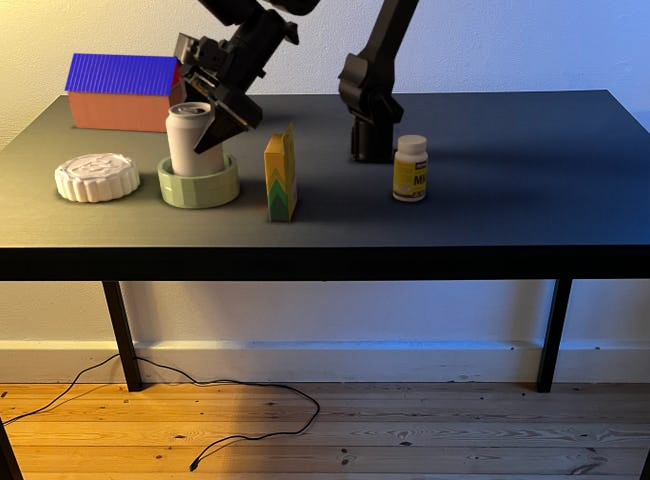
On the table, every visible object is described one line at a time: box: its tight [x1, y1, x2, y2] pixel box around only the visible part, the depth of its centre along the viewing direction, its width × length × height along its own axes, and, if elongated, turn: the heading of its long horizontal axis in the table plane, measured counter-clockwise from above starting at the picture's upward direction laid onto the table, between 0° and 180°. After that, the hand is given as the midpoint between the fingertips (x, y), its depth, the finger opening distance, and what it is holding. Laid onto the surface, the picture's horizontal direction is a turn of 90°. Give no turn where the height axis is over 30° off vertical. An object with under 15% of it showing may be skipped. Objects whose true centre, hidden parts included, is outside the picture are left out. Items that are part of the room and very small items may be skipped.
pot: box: [157, 151, 241, 210], centre depth 101 cm, size 11×11×4 cm
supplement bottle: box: [392, 134, 429, 203], centre depth 98 cm, size 5×5×8 cm
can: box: [166, 102, 225, 177], centre depth 98 cm, size 8×8×12 cm
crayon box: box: [263, 120, 298, 222], centre depth 93 cm, size 7×3×12 cm, turn 174°
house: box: [64, 52, 185, 133], centre depth 126 cm, size 12×20×12 cm, turn 79°
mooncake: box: [54, 152, 141, 203], centre depth 103 cm, size 12×12×4 cm
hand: (184, 142), depth 97 cm, fingers open, 9 cm apart
